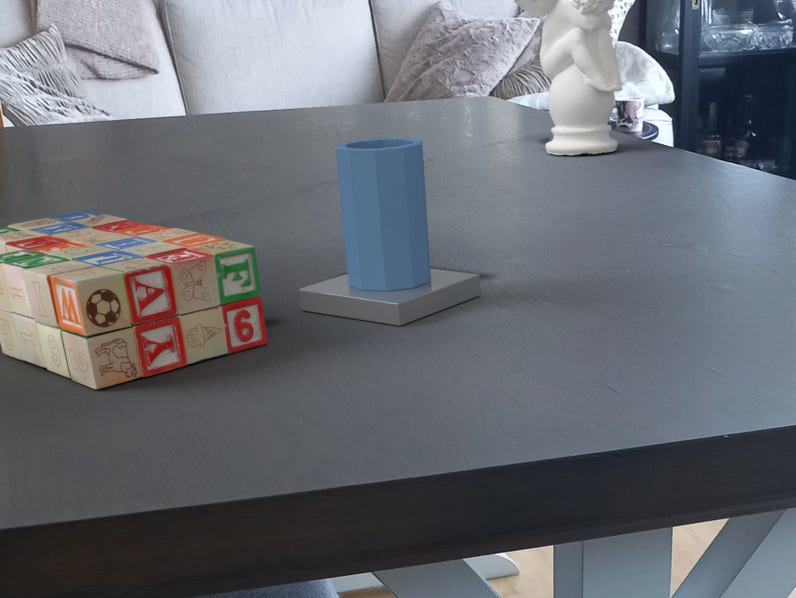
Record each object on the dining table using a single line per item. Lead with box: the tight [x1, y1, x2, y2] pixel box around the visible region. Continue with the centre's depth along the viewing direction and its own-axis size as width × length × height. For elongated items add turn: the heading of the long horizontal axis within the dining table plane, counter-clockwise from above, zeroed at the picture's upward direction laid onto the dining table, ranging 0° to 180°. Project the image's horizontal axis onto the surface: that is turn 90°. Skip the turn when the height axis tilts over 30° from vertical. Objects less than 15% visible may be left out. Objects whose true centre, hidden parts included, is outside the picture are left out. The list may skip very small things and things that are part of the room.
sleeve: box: [335, 137, 431, 291], centre depth 82 cm, size 6×6×9 cm
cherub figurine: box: [513, 0, 623, 156], centre depth 140 cm, size 12×12×22 cm
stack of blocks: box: [0, 210, 268, 390], centre depth 79 cm, size 21×6×12 cm
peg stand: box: [298, 268, 481, 327], centre depth 83 cm, size 9×9×9 cm
